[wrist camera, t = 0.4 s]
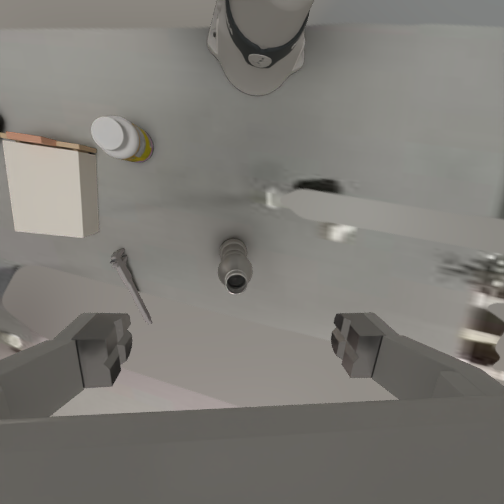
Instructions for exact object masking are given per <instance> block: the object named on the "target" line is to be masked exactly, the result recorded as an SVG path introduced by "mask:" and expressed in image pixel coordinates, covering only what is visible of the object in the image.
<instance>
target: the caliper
mask: <svg viewBox="0 0 504 504" xmlns="http://www.w3.org/2000/svg"><path fill="white" fill-rule="evenodd" d="M124 251H125V249H119V250H117V251H116V252H114V253H113V255H112V256H111V260H112V261H111V262H110V264H112V263H113V267H112V268H116V270H117V272H118V273H119V275H120V277H121V279H122V281H123V283H124V284H126V286H127V288H128V290H129V292H130V294H131V295H132V297H133V299H134V301H135V303H136V305H137V307H138V309H139V311H140V312H141V314H142V316H143V318H144V320H145V322H147V323H148V324H152V321H151V316H150V315H149V313H148V311H147V309H146V307H145V305H144V303H143V301H142V299H141V297H140V295H139V293H138V291H137V289H136V287H135V285H134V283H133V281H132V279H131V278H132V275H131V274H130V271H129V270H128V268H127V267H126V262H127V258H128V257H127V255H126V256H122V254H123V252H124ZM121 256H122V258H120V257H121Z"/></svg>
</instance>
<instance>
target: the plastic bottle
mask: <svg viewBox="0 0 504 504" xmlns="http://www.w3.org/2000/svg"><path fill="white" fill-rule="evenodd" d="M219 255H220V259H221V262H220V264H219V267H218V277H219V279H220V281H221V282H222V283H223V284H224V285H225V286H226V289H227V290H228V292H230V293H231V294H235V295H237V294H241V293H243V292H244V291H245V290H246V288H247V285H248V282H249V281H250V279H251V277H252V274H253V268H252V264H251V263H250V261H249V259H248V258H247V248H246V246H245V244H244V243H243V242H242V241H240V240H238V239H229V240H227V241H225V242H224V243H223V244H222V246H221V248H220V251H219Z"/></svg>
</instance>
